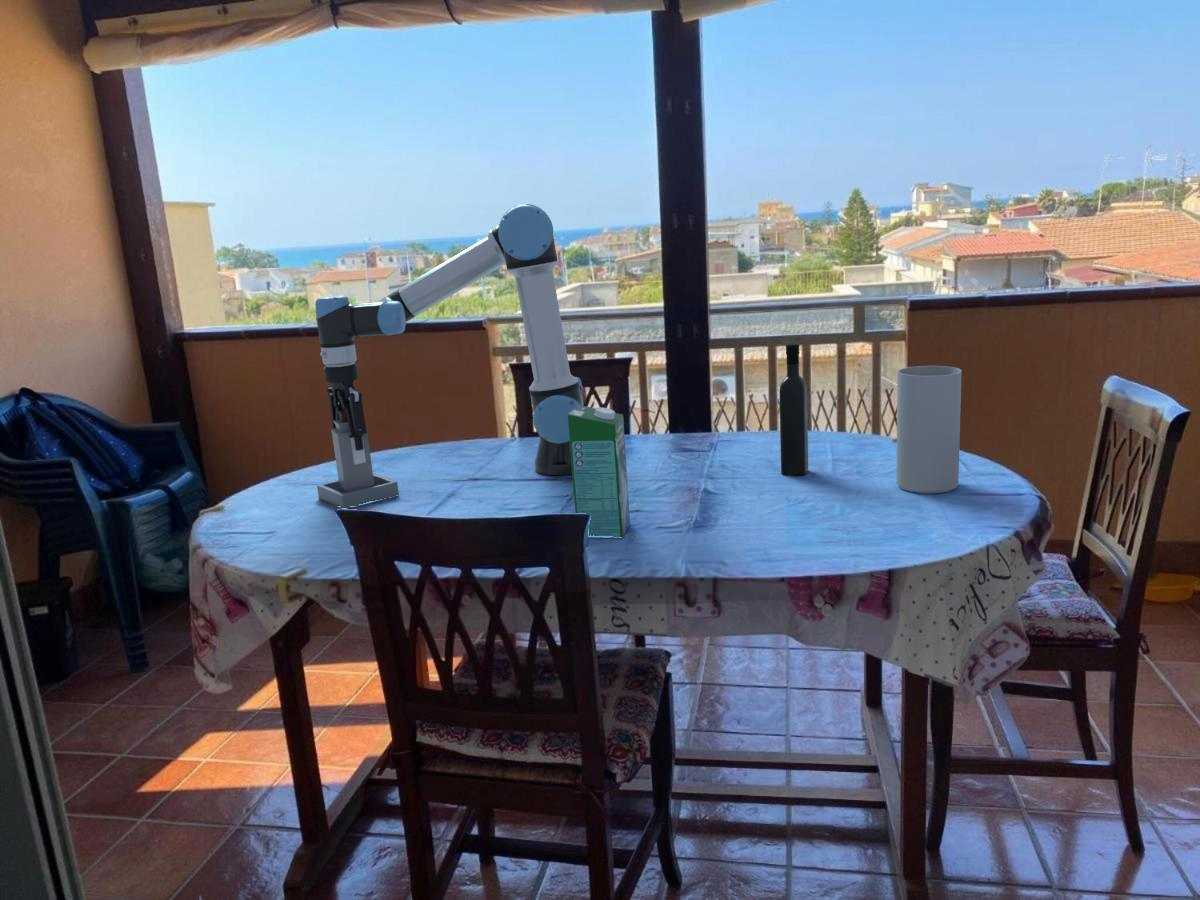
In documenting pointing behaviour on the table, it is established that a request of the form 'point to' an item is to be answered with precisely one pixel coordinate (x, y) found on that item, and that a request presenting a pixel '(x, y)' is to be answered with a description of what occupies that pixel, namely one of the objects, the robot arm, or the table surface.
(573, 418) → the milk carton
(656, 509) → the table surface
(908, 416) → the cylinder vase
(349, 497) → the tray
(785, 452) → the wine bottle
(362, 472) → the perfume bottle
